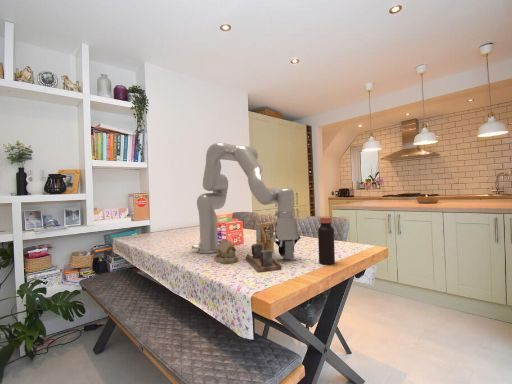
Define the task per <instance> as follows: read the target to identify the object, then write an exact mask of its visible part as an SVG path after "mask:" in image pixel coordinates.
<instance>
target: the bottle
mask: <svg viewBox="0 0 512 384" xmlns="http://www.w3.org/2000/svg"><path fill="white" fill-rule="evenodd" d="M319 224H320V226H319V227H318V229H317V239H318V245H317V246H318V262H319V264H321V265H325V266H326V265H327V266H331V265H334V264H335V263H336V262H335V261H336V260H335V259H336V257H335V256H336V255H335V254H336V253H335V229H334V228H333V226H332V217H331V216H320V217H319Z"/></svg>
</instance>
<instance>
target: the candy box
mask: <svg viewBox="0 0 512 384" xmlns="http://www.w3.org/2000/svg"><path fill="white" fill-rule="evenodd" d="M274 234H275V228H274V222H271V221H269V222H260V223H256V224H255V236H256V237H255V238H256V239H255V240H256V241H255V242H256V243H255V244H262V245H263V250H271V251H272V253H274V252H275V242H273V241H272V240H271V239H272V237H273V236H274Z"/></svg>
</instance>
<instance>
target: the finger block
mask: <svg viewBox="0 0 512 384" xmlns="http://www.w3.org/2000/svg"><path fill="white" fill-rule="evenodd" d="M282 247H283V256H281V257H282V258H284V259H285V260H288V259H294V252H295V250H294V251H293V240H287V241H283V243H282Z"/></svg>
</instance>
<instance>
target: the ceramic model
mask: <svg viewBox="0 0 512 384" xmlns="http://www.w3.org/2000/svg"><path fill="white" fill-rule="evenodd" d="M216 251H217V252H216V254H215V255H214V257H213V258H214V262H216V263H219V264H224V265H228V264H230V263H231V264H233V263H237V262H238V261H239V258H238V256H236V252H237V250H236V248H235V245H233V244H232V243H231V242H230V241H228V239H227V238H224V240H223V239H222V240H221V242H220V243H218V246H217V248H216ZM231 264H230V265H231Z"/></svg>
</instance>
